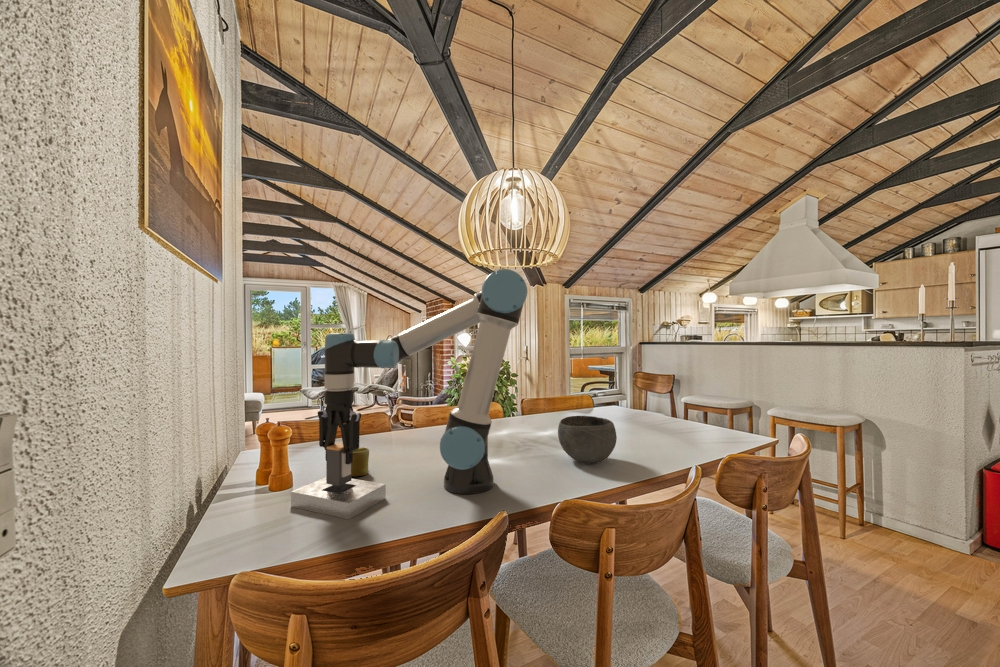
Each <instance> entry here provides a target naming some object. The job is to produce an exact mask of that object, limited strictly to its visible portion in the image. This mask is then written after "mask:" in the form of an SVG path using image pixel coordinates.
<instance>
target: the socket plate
mask: <svg viewBox="0 0 1000 667" xmlns="http://www.w3.org/2000/svg"><path fill="white" fill-rule="evenodd" d="M386 485H387V484H386V483H381V482H380V483H379V482H374V481H369V480H362V479H356V478H352V477H351V481H349V482H347V483H345V484H343V485H340V486H336V485H331V484H326V476H325V477H323V478H320V479H318V480H316V481H313V482H311V483H308V484H306V485H303V486H301V487H299V488H297V489H294V490H291V491H290V507H291V508H294V509H295V508H296V509H299V510H300V509H302V510H306V511H310V512H314V513H319V514H323V515H328V516H332V517H335V518H336V517H338V518H341V519H346V520H351V519H352V518H354V517H356V516H358V515H359V514H361V513H363V512H364V511H366V510H368V509H370V508H372V507H373V506H375V505H377V504H379V503H380V502H382V501H384V500H386V499H387V498H386V495H387V493H386V487H387V486H386Z"/></svg>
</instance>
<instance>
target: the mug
mask: <svg viewBox="0 0 1000 667" xmlns="http://www.w3.org/2000/svg"><path fill="white" fill-rule="evenodd" d="M369 457H370V449H369V448H368V447H363V446H361V447H359V449H356V450H354V451H353V462H352V463H351V478H352V477H362V476H365V475H367V474H368V472H369V459H370V458H369Z"/></svg>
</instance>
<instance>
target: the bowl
mask: <svg viewBox="0 0 1000 667" xmlns="http://www.w3.org/2000/svg"><path fill="white" fill-rule="evenodd" d="M617 437H618V436H617V430H616V428H615V424H614V423H613V421H612V420H610V419H607V418H603V417H598V416H592V415H591V416H590V415H571V416H567V417H563V418H562V419H560V421H559V423H558V427H557V438H558V442H559V444H560V446H561V448H562V450H563V451H564V452H565V453H566V455H568V456H569V458H572V460H574V461H575V462H576V463H580V464H583V465H597V464H600V463H601V462H604V461H605V460H607V459H608V458H609V456H611V454H612V452H613V451H614V449H615V447H616V445H617V441H618V440H617Z"/></svg>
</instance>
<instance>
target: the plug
mask: <svg viewBox="0 0 1000 667" xmlns="http://www.w3.org/2000/svg"><path fill="white" fill-rule="evenodd" d="M343 451H344V447H343V442H338V443H335V444H334V445H330V446H327V461H326V462H325V463H326V473H325V474H326V476H325V477H326V484H331V485H336V486H340V485H343V484H345V483H347V482H349V481H351V478H352V477H351V474H350V475H348V476H346V477H342V452H343Z"/></svg>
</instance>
